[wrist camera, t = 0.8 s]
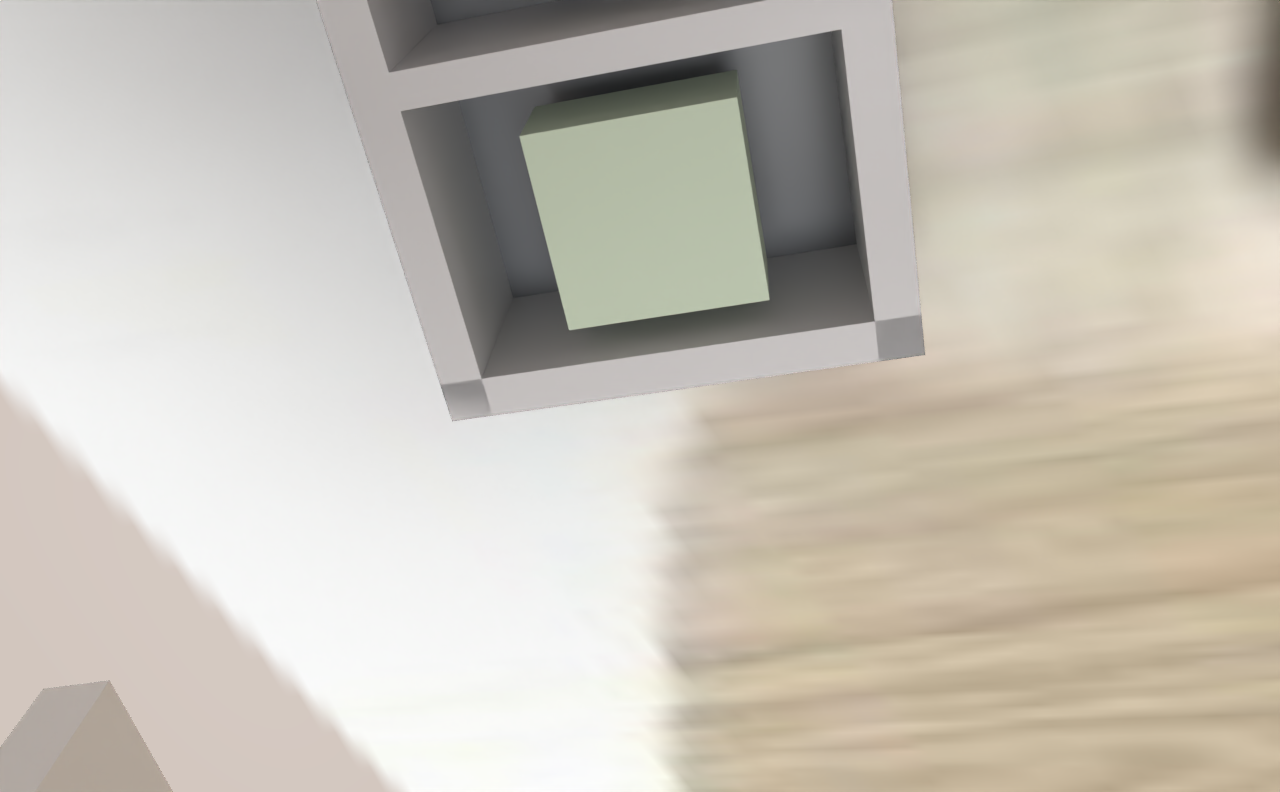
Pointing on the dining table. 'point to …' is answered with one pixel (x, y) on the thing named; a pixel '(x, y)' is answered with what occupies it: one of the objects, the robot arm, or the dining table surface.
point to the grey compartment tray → (610, 62)
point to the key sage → (648, 200)
